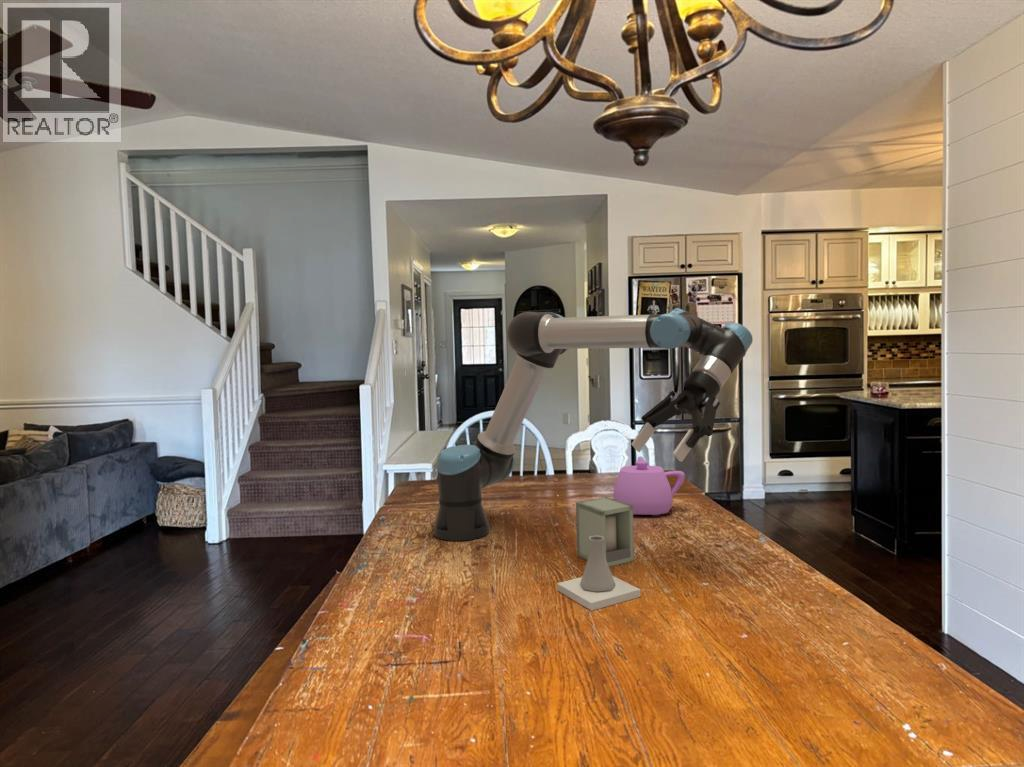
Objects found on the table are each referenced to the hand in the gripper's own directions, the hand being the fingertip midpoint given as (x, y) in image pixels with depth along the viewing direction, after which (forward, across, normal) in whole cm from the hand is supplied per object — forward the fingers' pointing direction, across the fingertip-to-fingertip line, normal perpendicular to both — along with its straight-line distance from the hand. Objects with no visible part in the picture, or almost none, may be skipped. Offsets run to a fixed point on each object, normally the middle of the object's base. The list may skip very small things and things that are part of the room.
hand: (655, 452), depth 138 cm
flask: (+30, -3, -5) cm, 31 cm away
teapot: (-2, +41, -41) cm, 58 cm away
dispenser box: (+22, +13, -16) cm, 30 cm away
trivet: (+31, -3, -6) cm, 32 cm away
